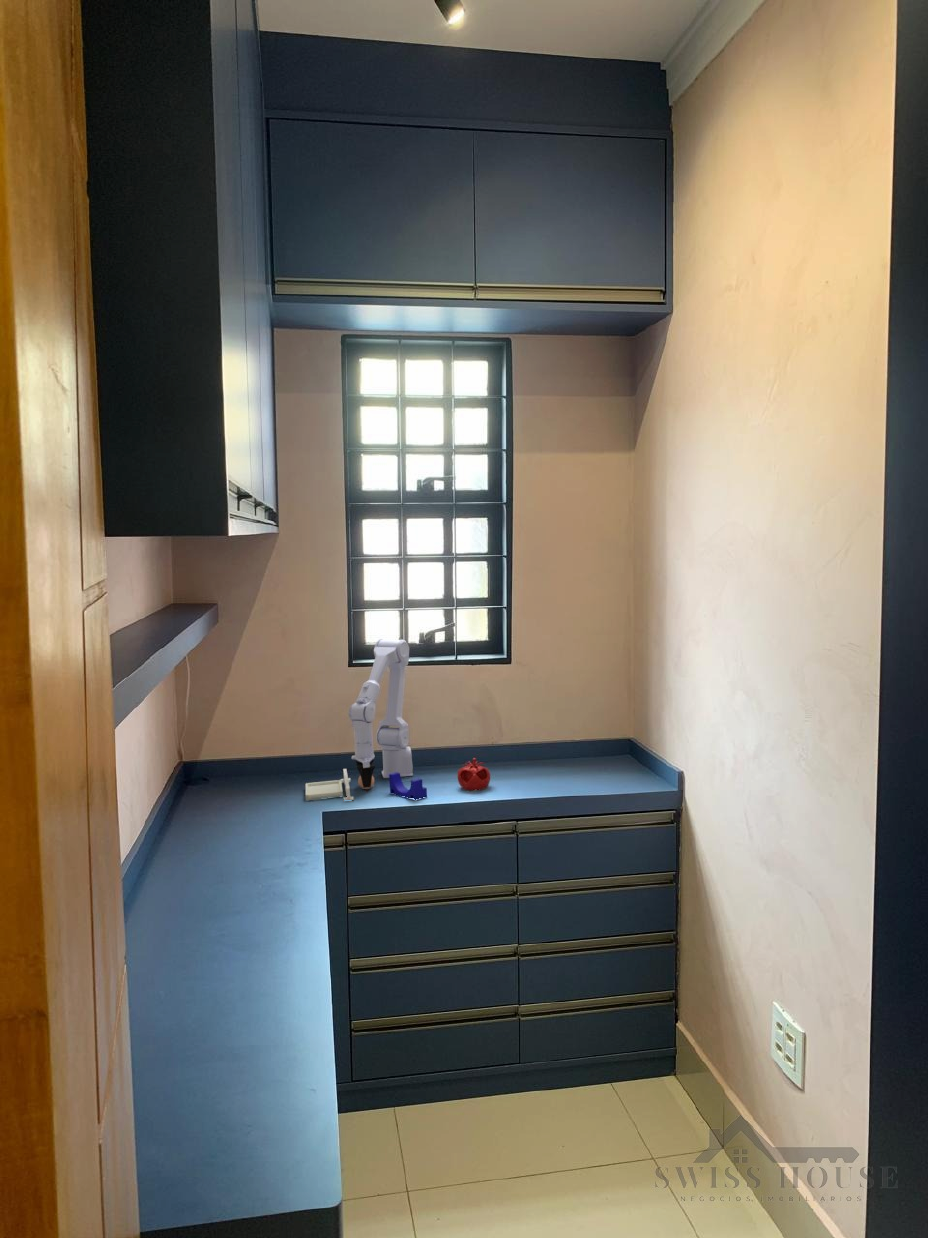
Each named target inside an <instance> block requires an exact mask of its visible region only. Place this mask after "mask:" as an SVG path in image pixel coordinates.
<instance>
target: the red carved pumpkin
mask: <svg viewBox="0 0 928 1238" xmlns="http://www.w3.org/2000/svg"><path fill="white" fill-rule="evenodd" d="M482 765H485V762H479V760H478V761H477V758H476V757H473V758H472V762H471V761H470V760H469V761H466V762H465V763H464V764H462V765H461V766H463V767H461V768H459V769H458V771H457V774H456V776H457V781H458V784H459V786H460V787H461V788H462V789H464V790H465V791H471V792H473V791H482V790H484V789H486V788H488V786H489V785H490V782H491V772H490V770H489V769H488V768H487V767H485V766H482Z"/></svg>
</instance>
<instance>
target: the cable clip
mask: <svg viewBox="0 0 928 1238" xmlns="http://www.w3.org/2000/svg"><path fill="white" fill-rule="evenodd" d="M388 780H389V781H388V782H389V794H391V793H394V794H396V795H395V796H397V795H399V796H398V797H401V796H405V797H408V798H414V799H415V800H416V799H419V798H423V797H426V798H428V792H427V791H428V790H427V787H424V786H423V778H415V779H413V780H410V787H409V789H408V788H407V787H406V786H405V784H404V783H403V781H402V777H400V773H398V772H396V773H393V774H389V778H388ZM394 794H393V795H394ZM423 799H424V798H423Z"/></svg>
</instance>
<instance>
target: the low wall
mask: <svg viewBox="0 0 928 1238" xmlns="http://www.w3.org/2000/svg"><path fill="white" fill-rule="evenodd" d="M342 770H343V778H341V779H340V780H341V783H342V784H344V791H345V796H347V797H345V796H343V798H342V799H344V800H353V799H354V797H355V796H351V791H350V790H351V788H350V783H351V781H352V780H351V777H348V771H347V768H343V769H342ZM344 800H343V801H344ZM354 800H355V799H354Z"/></svg>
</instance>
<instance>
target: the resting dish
mask: <svg viewBox="0 0 928 1238" xmlns="http://www.w3.org/2000/svg"><path fill="white" fill-rule="evenodd" d="M340 796H343V797H344V792H343V783H341V779H338V780H336V779H335V780H325V781H318V782H317V781H316V782H315V781H314V782H306V783H305V802H309V801H308V800H314V799H321V798H328V797H340ZM314 801H315V800H314Z"/></svg>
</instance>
